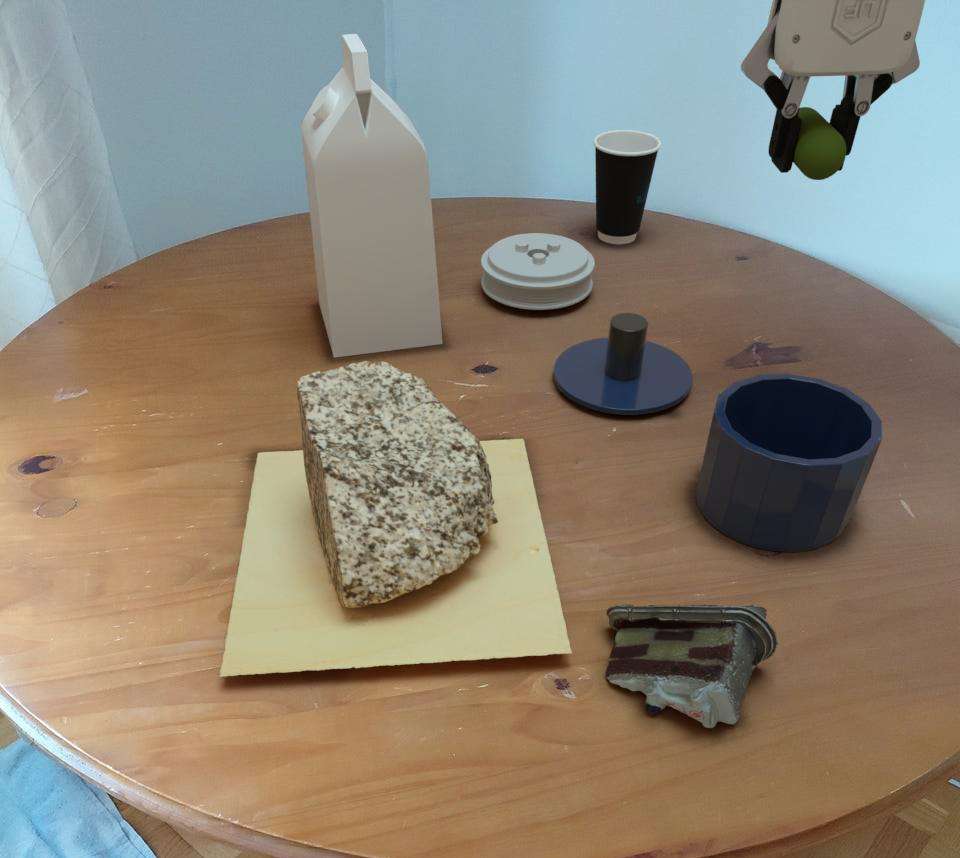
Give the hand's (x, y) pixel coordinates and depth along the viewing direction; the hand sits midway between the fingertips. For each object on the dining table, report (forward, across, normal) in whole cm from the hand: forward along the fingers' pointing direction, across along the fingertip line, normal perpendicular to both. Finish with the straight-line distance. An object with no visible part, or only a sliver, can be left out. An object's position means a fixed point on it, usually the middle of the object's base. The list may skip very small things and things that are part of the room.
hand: (806, 163), depth 73 cm
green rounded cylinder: (0, 0, 0) cm, 0 cm away
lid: (+20, -19, +21) cm, 35 cm away
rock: (+20, -36, -22) cm, 46 cm away
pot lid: (+20, -13, +1) cm, 24 cm away
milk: (+20, -37, +15) cm, 45 cm away
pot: (+20, -4, -18) cm, 28 cm away
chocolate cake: (+21, -16, -38) cm, 46 cm away
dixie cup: (+21, -7, +35) cm, 42 cm away
